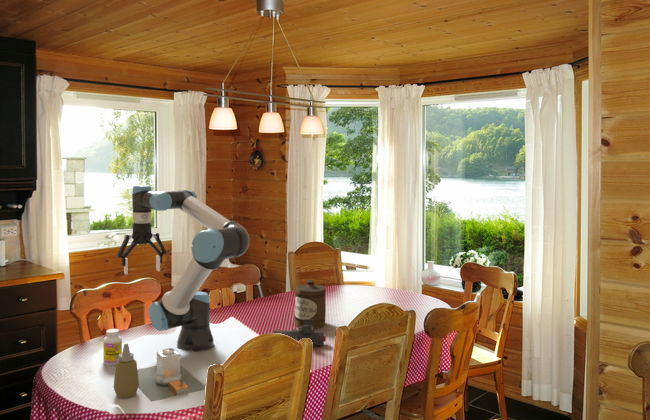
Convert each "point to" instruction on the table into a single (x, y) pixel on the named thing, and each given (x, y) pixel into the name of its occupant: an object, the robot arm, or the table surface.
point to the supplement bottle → (112, 346)
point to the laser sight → (306, 333)
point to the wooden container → (310, 304)
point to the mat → (160, 392)
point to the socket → (168, 363)
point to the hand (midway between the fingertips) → (142, 272)
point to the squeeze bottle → (126, 375)
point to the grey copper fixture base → (172, 384)
